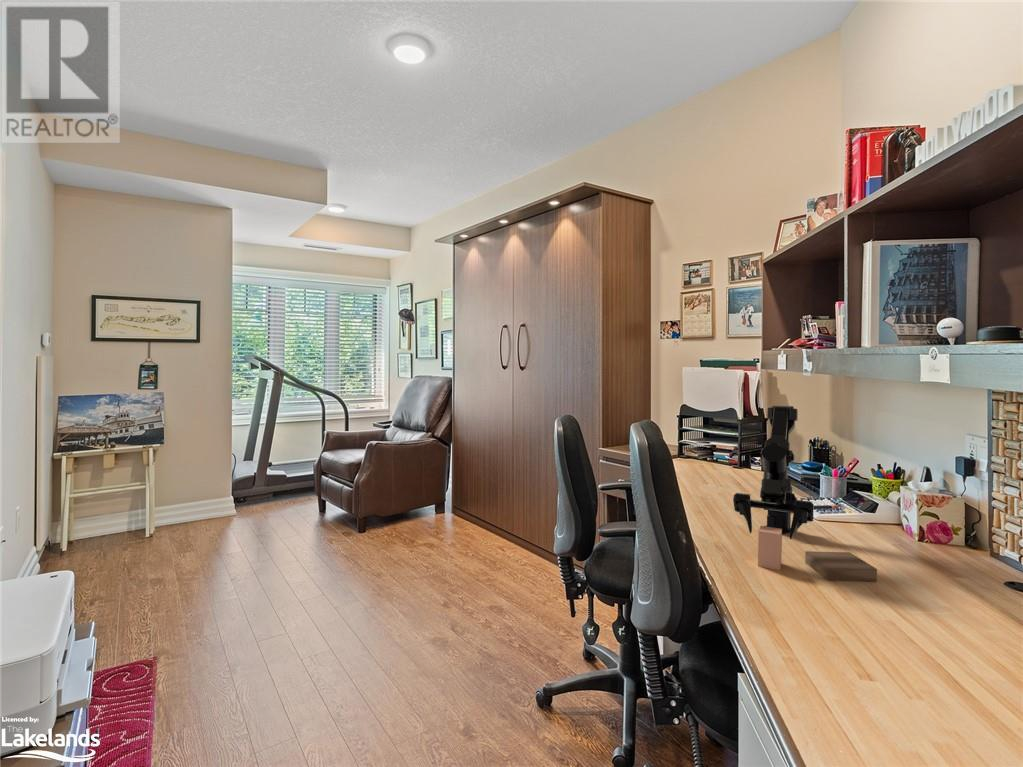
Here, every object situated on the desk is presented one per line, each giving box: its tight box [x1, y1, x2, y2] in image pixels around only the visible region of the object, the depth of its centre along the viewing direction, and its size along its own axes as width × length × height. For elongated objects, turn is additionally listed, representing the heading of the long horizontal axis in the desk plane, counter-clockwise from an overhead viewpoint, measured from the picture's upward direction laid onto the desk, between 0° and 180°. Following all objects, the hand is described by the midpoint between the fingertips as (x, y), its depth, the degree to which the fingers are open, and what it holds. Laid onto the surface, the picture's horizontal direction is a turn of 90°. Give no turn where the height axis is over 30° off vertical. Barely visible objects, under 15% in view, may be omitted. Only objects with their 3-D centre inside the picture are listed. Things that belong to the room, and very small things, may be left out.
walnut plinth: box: [804, 550, 878, 582], centre depth 130 cm, size 11×11×3 cm
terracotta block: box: [757, 525, 783, 571], centre depth 134 cm, size 5×5×9 cm
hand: (770, 535), depth 134 cm, fingers open, 9 cm apart
